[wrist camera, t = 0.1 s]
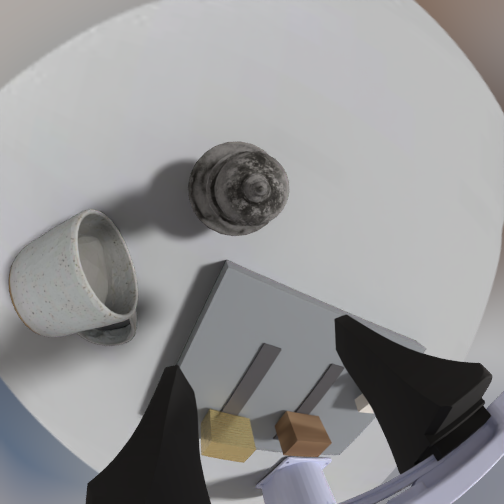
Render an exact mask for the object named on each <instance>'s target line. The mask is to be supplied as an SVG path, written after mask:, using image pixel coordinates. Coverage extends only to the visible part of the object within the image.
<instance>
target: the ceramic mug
mask: <svg viewBox="0 0 504 504" xmlns="http://www.w3.org/2000/svg"><path fill="white" fill-rule="evenodd" d="M9 292H10V296H11V300H12V303H13V306H14V308H15V311H16V312H17V314H18V316H19V318H20V319H21V320H22V321H23V323H24V324H25V325H26V326H27V327H28V328H29V329H31V330H32V331H33V332H35V333H37V334H39V335H42V336H47V337H61V336H67V335H71V334H74V333H77V334H78V335H80V336H81V337H82V338H84V339H86V340H87V341H89V342H92V343H95V344H99V345H106V346H113V345H120V344H124V343H127V342H129V341H130V340H131V339H132V338H133V337H134V335H135V333H136V329H137V313H136V307H137V302H138V287H137V279H136V273H135V268H134V265H133V262H132V259H131V256H130V253H129V250H128V248H127V246H126V244H125V242H124V239H123V237H122V236H121V234H120V232H119V230H118V229H117V228H116V226H115V225H114V223H113V222H112V221H111V220H110V219H109V218H108V217H107V216H106V215H105V214H103V213H102V212H100V211H98V210H94V209H88V210H85V211H82V212H80V213H78V214H77V215H75V216H73V217H72V218H70V219H68V220H67V221H65V222H63V223H61V224H60V225H58V226H56V227H55V228H53V229H52V230H50V231H49V232H47V233H46V234H44V235H43V236H41V237H39V238H38V239H36V240H34V241H33V242H31V243H30V244H28V245H27V246H26V247H25V248H24V249H23V250H22V251H21V252H20V253H19V254H18V255H17V257H16V258H15V260H14V262H13V264H12V266H11V270H10V274H9ZM127 319H129V321H130V325H128V326H127V327H124V328H120V329H114V330H110V331H109V330H105V331H103V330H98V329H96V328H99V327H103V326H107V325H111V324H115V323H119V322H123V321H125V320H127Z"/></svg>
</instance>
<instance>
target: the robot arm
mask: <svg viewBox="0 0 504 504" xmlns="http://www.w3.org/2000/svg"><path fill="white" fill-rule="evenodd" d="M334 321H335V343H336V351H337V353H338V355H339V357H340V359H341V361H342V363H343V365H344V367H345V369H346V370H347V372H348V373H349V375H350V376H351V377H352V379H353V380H354V382H355V383H356V385H357V386H358V388H359V389H360V391H361V392H362V394H363V395H364V397H365V398H366V400H367V401H368V403H369V404H370V406H371V408H372V410H373V412H374V414H375V416H376V418H377V420H378V422H379V424H380V426H381V428H382V430H383V432H384V435H385V437H386V439H387V442H388V444H389V446H390V449H391V451H392V454H393V456H394V459H395V462H396V464H397V467H398V470H399V473H400V474H401V475H399V476H397V477H395V478H393V479H392V480H390V481H388V482H386V483H384V484H382V485H380V486H378V487H376V488H374V489H372V490H370V491H367V492H365V493H363V494H361V495H358V496H356V497H354V498H351V499H349V500H346V501H344V502H341V503H339V504H376V503H378V502H380V501H382V500H384V499H385V498H388V497H390V496H392V495H393V494H395V493H397V492H399V491H401V490H402V489H404V488H406V487H408V486H410V485H411V484H412V486H411V487H410V488H409V489H407V490H406V491H404V492H402V493H401V494H399V495H397V496H396V497H394V498H392V499H390V500H389V501H388V502H387V503H386V504H452V503H453V502H454V501H455V500H457V499H458V498H459V497H460V496H462V495H463V494H464V493H465V492H466V491H467V490H469V489H470V488H471V487H472V486H473V485H474V484H475V483H476V482H477V481H479V479H480V478H482V477H483V476H484V475H485V474H486V473H487V472H488V471H489V470H490V469H491V468H492V467H493V466H494V465H495V464H496V463H497V462H498V460H499V459H500V458H501V457H502V456H503V455H504V391H503V392H502V393H501V394H500V395H499V396H498V397H497V398H496V400H494V401H493V402H492V403H491V404H490V405H489V406H488V408H487V409H485V408H484V406H483V405H484V404H485V401H484V400H483V399H482V396H483V394H484V393H485V391H486V390H487V388H488V386H489V384H490V383H491V380H492V375H491V374H490V372H489V371H488V370H487V369H486V368H485V367H484V366H483V365H482V364H480V363H468V362H458V361H452V360H446V359H441V358H437V357H434V356H430V355H426V354H423V353H420V352H417V351H415V350H412V349H409V348H407V347H404V346H402V345H400V344H398V343H396V342H394V341H391V340H390V339H388V338H386V337H384V336H382V335H380V334H378V333H377V332H375V331H373V330H371V329H370V328H368V327H366V326H365V325H363V324H362V323H360V322H358V321H357V320H355V319H354V318H352V317H350V316H349V315H347V314H346V315H343V316H340V317H338V318H335V319H334ZM331 461H332V459H331V458H301V457H287V458H286V459H285V460H284V461H283V462H281V463H280V464H279V465H278V466H277V467H276V468H275V469H274V470H273V471H272V472H271V473H270V474H269V475H267V476H266V477H265V478H264V479H263V480H262V481H261V482H259V483H258V484H257V485H256V488H258V489H261V490H262V494H263V498H264V502H265V504H337V503H336V500H335V498H334V496H333V493H332V491H331V489H330V487H329V484H328V482H327V480H326V478H325V475H324V473H323V471H322V470H323V469H324V468H325V467H326V466H327V465H328V464H329V463H330V462H331ZM86 504H211V502H210V499H209V496H208V492H207V488H206V484H205V480H204V475H203V470H202V465H201V460H200V452H199V433H198V411H197V404H196V398H195V392H194V390H193V389H192V387H191V385H190V384H189V382H188V381H187V379H186V377H185V376H184V374H183V372H182V371H181V369H180V367H179V366H178V365H175V366H170V367H166V368H165V370H164V372H163V374H162V377H161V379H160V381H159V384H158V386H157V388H156V391H155V393H154V395H153V397H152V399H151V402H150V404H149V406H148V408H147V410H146V412H145V414H144V416H143V418H142V419H141V421H140V423H139V425H138V427H137V428H136V430H135V432H134V433H133V435H132V436H131V438H130V439H129V441H128V442H127V443H126V445H125V446H124V447H123V449H122V450H121V451H120V452H119V454H118V455H117V456H116V457H115V458H114V459H113V461H112V462H111V463H110V464H109V465H108V466H107V467H106V468H105V469H104V470H103V471H102V472H101V473H99V474H98V475H97V476H96V477H95V478H94V479H93V480H91V481H90V482H89V483H88V486H87V495H86Z"/></svg>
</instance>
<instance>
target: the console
mask: <svg viewBox="0 0 504 504" xmlns="http://www.w3.org/2000/svg"><path fill="white" fill-rule="evenodd" d="M346 314H347V315H349V316H350V317H352V318H354V319H355V320H357V321H358V322H360V323H362V324H363V325H365V326H366V327H368V328H370V329H371V330H373V331H375V332H377V333H378V334H380V335H382V336H384V337H386V338H388V339H390V340H391V341H394V342H396V343H398V344H400V345H402V346H404V347H407V348H409V349H412V350H415V351H417V352H420V353H424V352H425V350H426V348H425V347H423V346H422V345H421V344H420V343H418V342H417V341H416V340H413V339H411V338H408V337H406V336H403V335H401V334H398V333H396V332H393V331H391V330H389V329H386V328H384V327H381V326H379V325H376V324H374V323H372V322H369V321H367V320H364V319H362V318H360V317H357V316H355V315H353V314H350V313H348V312H345V311H343V310H341V309H338V308H336V307H334V306H331V305H329V304H327V303H324V302H322V301H320V300H317V299H315V298H313V297H310V296H308V295H306V294H303V293H301V292H299V291H296V290H294V289H292V288H290V287H287V286H285V285H283V284H280V283H278V282H276V281H274V280H271V279H269V278H267V277H264V276H262V275H260V274H258V273H255V272H253V271H251V270H249V269H246V268H244V267H242V266H240V265H237V264H235V263H233V262H231V261H229V260H226V262H225V264H224V266H223V268H222V270H221V272H220V274H219V276H218V278H217V281H216V283H215V285H214V287H213V289H212V291H211V293H210V295H209V297H208V299H207V301H206V303H205V306H204V308H203V310H202V312H201V314H200V316H199V318H198V320H197V322H196V325H195V327H194V329H193V331H192V333H191V335H190V337H189V339H188V342H187V344H186V346H185V348H184V350H183V352H182V354H181V357H180V359H179V361H178V363H177V365H178V366H179V367H180V369H181V371H182V372H183V374H184V376H185V377H186V379H187V381H188V382H189V384H190V385H191V387H192V389H193V390H194V392H195V398H196V404H197V411H198V433H199V438H200V439H201V422H202V421H203V419H204V417H205V416H206V414H207V413H208V411H209V409H212V410H216V411H220V412H224V413H228V414H232V415H236V416H241V417H245V418H249V419H250V424H251V428H252V433H253V437H254V442H255V446H256V449H257V450H265V451H273V452H282V449H281V446H280V442H279V439H278V436H277V433H276V430H275V425H276V423H277V422H278V421H279V420H280V418H281V417H282V416H283V415H284V414H285V412H286V411H290V412H295V413H301V414H308V415H314V416H319V418H320V420H321V422H322V424H323V426H324V428H325V430H326V432H327V434H328V436H329V438H330V440H331V442H332V444H331V445H330V446H329V447H328V448H327V449H326V450H325V451H323V452H322V453H321V454H320V455H340V454H341V453H342V452H343V451H344V450H345V449H346V448H347V447H348V446H349V445H350V444H351V443H352V442H353V441H354V440H355V439H356V438H357V437H358V436H359V435H360V434H361V433H362V432H363V430H364V429H365V428H366V427H367V426H368V425H369V424H370V423H371V422H372V420H373V419H374V418H375V417H376V416H375V414H374V413H363V412H358V410H357V406H356V403H355V399H356V398H357V397H359V396H360V395H361V394H362V392H361V391H360V389H359V388H358V386H357V385H356V383H355V382H354V380H353V379H352V377H351V376H350V375H349V373H348V372H347V370H346V369H345V367H344V365H343V363H342V361H341V359H340V357H339V355H338V353H337V351H336V343H335V321H334V319H335V318H338V317H340V316H343V315H346Z"/></svg>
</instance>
